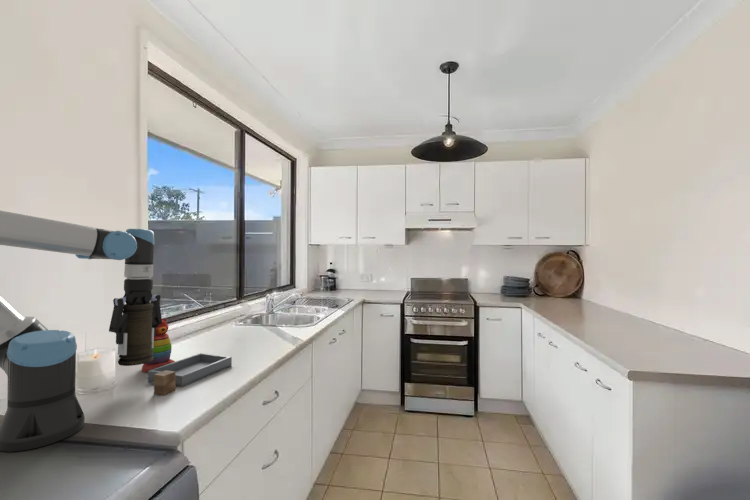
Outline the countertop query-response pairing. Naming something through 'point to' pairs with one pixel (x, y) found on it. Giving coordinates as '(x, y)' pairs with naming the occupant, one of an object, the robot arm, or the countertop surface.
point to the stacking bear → (160, 349)
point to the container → (138, 335)
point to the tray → (193, 368)
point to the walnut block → (164, 383)
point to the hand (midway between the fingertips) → (136, 351)
